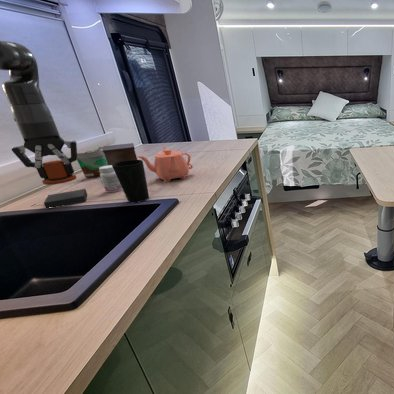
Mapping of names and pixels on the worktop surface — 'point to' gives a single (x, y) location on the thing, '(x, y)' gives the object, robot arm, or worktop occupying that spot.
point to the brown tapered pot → (119, 153)
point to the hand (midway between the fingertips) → (58, 177)
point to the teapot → (169, 164)
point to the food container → (92, 162)
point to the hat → (56, 173)
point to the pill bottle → (109, 179)
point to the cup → (132, 179)
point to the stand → (66, 198)
